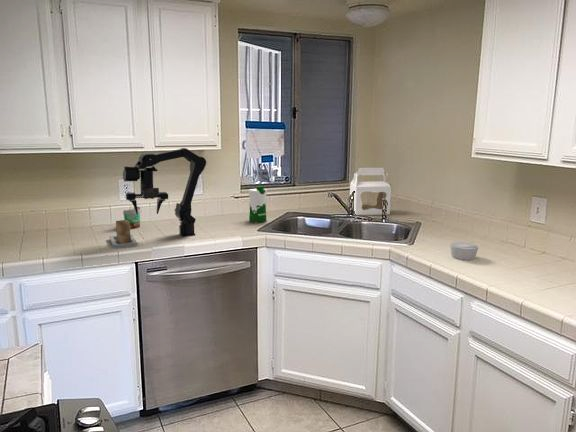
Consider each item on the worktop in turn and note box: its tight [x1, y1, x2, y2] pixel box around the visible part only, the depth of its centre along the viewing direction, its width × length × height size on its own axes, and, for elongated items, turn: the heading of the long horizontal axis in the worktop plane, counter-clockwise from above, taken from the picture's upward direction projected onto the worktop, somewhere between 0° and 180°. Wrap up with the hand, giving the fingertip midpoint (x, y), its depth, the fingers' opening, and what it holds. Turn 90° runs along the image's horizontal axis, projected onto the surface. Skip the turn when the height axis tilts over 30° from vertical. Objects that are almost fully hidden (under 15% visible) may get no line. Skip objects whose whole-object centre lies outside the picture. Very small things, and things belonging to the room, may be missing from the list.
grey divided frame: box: [109, 233, 138, 249], centre depth 224 cm, size 10×18×3 cm, turn 25°
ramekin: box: [449, 241, 479, 261], centre depth 205 cm, size 11×11×5 cm
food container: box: [122, 206, 142, 230], centre depth 256 cm, size 12×6×10 cm, turn 168°
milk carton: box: [247, 185, 268, 223], centre depth 273 cm, size 9×9×20 cm
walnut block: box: [115, 219, 131, 244], centre depth 220 cm, size 4×4×11 cm
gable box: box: [349, 167, 392, 216], centre depth 300 cm, size 22×13×28 cm, turn 100°
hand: (147, 214), depth 229 cm, fingers open, 9 cm apart
